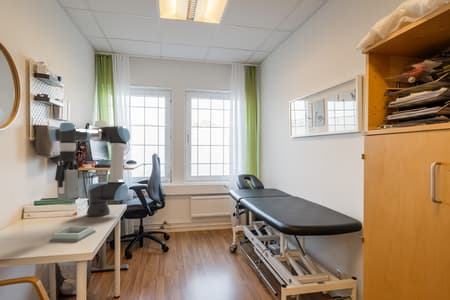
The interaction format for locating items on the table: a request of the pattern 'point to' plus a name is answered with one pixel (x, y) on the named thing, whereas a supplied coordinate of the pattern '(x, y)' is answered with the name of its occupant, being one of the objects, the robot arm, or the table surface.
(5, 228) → the table surface
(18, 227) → the table surface
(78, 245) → the table surface
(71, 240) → the tray
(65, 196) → the skincare box
